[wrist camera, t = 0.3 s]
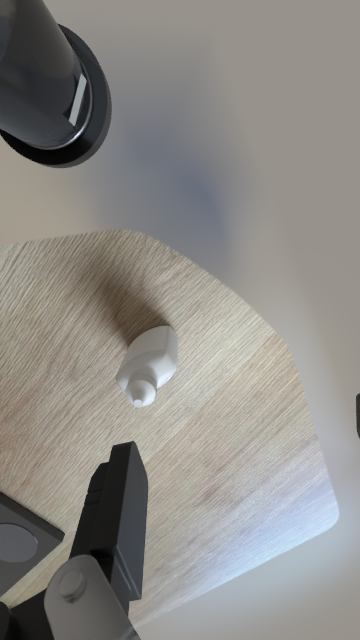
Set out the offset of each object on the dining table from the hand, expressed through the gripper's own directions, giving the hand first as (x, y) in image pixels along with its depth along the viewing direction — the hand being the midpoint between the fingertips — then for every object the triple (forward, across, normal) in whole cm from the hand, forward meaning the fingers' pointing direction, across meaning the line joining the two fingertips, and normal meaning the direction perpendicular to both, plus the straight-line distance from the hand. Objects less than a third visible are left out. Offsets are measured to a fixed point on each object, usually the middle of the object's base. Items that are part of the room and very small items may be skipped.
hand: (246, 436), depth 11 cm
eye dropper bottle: (+22, +6, +5) cm, 24 cm away
